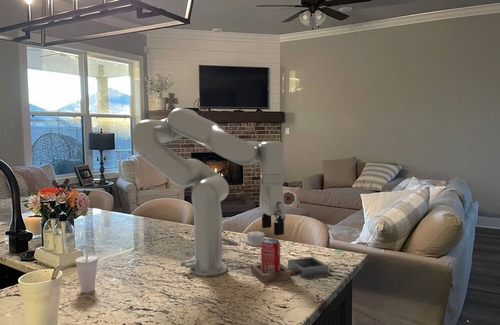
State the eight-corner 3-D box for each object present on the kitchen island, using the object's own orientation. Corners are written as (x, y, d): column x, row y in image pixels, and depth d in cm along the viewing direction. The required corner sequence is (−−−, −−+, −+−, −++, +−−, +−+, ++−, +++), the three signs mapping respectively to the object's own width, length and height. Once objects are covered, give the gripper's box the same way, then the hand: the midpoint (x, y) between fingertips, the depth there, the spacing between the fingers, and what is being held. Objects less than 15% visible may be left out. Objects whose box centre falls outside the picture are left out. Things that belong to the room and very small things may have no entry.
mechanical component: (241, 246, 156) (265, 247, 154) (241, 235, 156) (265, 237, 154) (247, 239, 166) (269, 240, 164) (247, 229, 166) (269, 230, 164)
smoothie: (75, 296, 108) (74, 248, 107) (76, 287, 114) (74, 242, 112) (99, 292, 110) (98, 246, 109) (99, 284, 116) (97, 240, 115)
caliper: (196, 240, 164) (196, 226, 164) (198, 239, 165) (198, 225, 165) (238, 246, 156) (238, 231, 156) (240, 245, 157) (240, 230, 157)
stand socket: (262, 283, 117) (262, 275, 117) (251, 272, 126) (251, 265, 126) (290, 279, 121) (291, 271, 121) (277, 268, 130) (277, 261, 130)
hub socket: (290, 279, 121) (291, 271, 121) (277, 268, 130) (277, 261, 130) (328, 273, 126) (328, 266, 126) (312, 263, 135) (312, 256, 135)
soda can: (259, 278, 121) (260, 242, 120) (262, 271, 127) (262, 237, 126) (279, 280, 120) (279, 243, 119) (280, 272, 126) (281, 238, 125)
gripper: (251, 177, 128) (252, 226, 129) (272, 183, 112) (273, 239, 113) (271, 175, 130) (272, 224, 132) (294, 181, 114) (295, 236, 116)
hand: (272, 231), depth 122 cm, fingers open, 9 cm apart
